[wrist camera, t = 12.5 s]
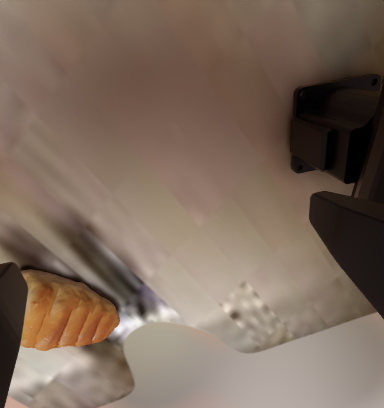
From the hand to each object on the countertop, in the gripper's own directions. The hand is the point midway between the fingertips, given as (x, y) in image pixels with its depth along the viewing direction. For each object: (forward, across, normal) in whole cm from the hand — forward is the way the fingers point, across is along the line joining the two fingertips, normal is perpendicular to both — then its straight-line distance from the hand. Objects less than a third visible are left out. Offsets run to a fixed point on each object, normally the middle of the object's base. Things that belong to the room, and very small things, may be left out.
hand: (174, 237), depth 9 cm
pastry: (+14, +10, +13) cm, 21 cm away
